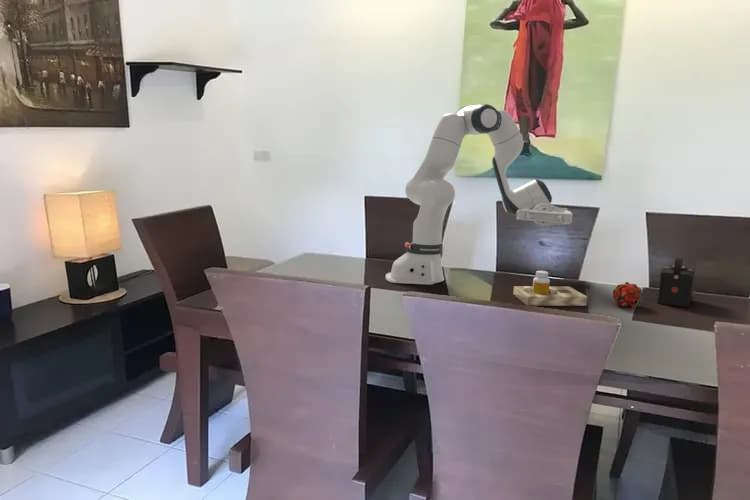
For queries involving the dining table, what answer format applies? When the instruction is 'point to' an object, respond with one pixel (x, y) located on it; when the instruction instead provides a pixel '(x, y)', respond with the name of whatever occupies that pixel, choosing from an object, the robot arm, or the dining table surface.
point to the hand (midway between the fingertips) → (544, 218)
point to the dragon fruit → (627, 295)
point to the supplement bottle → (541, 283)
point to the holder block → (551, 296)
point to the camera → (676, 285)
